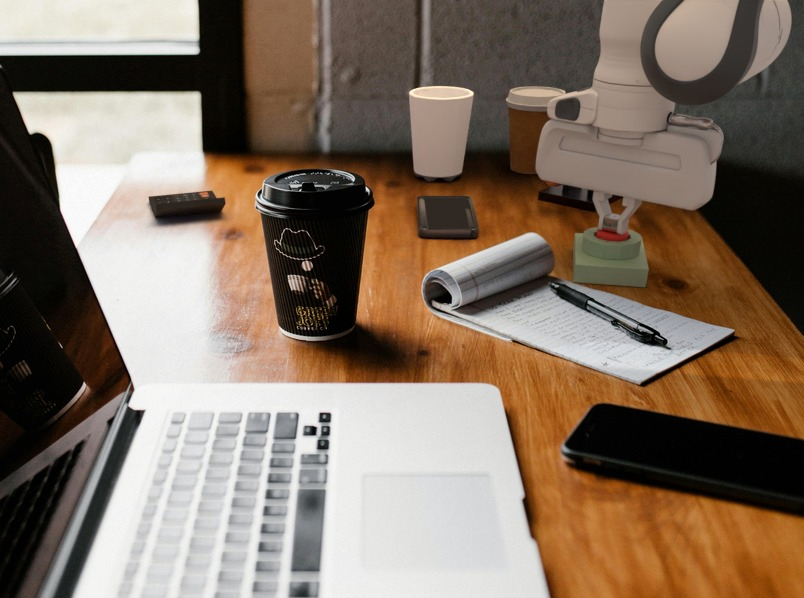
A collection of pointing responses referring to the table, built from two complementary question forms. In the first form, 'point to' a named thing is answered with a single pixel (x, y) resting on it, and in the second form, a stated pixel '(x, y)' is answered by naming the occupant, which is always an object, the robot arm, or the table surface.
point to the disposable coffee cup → (527, 124)
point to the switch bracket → (571, 196)
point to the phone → (446, 217)
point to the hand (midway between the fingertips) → (612, 231)
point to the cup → (439, 130)
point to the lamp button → (611, 236)
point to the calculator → (186, 203)
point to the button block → (609, 260)
